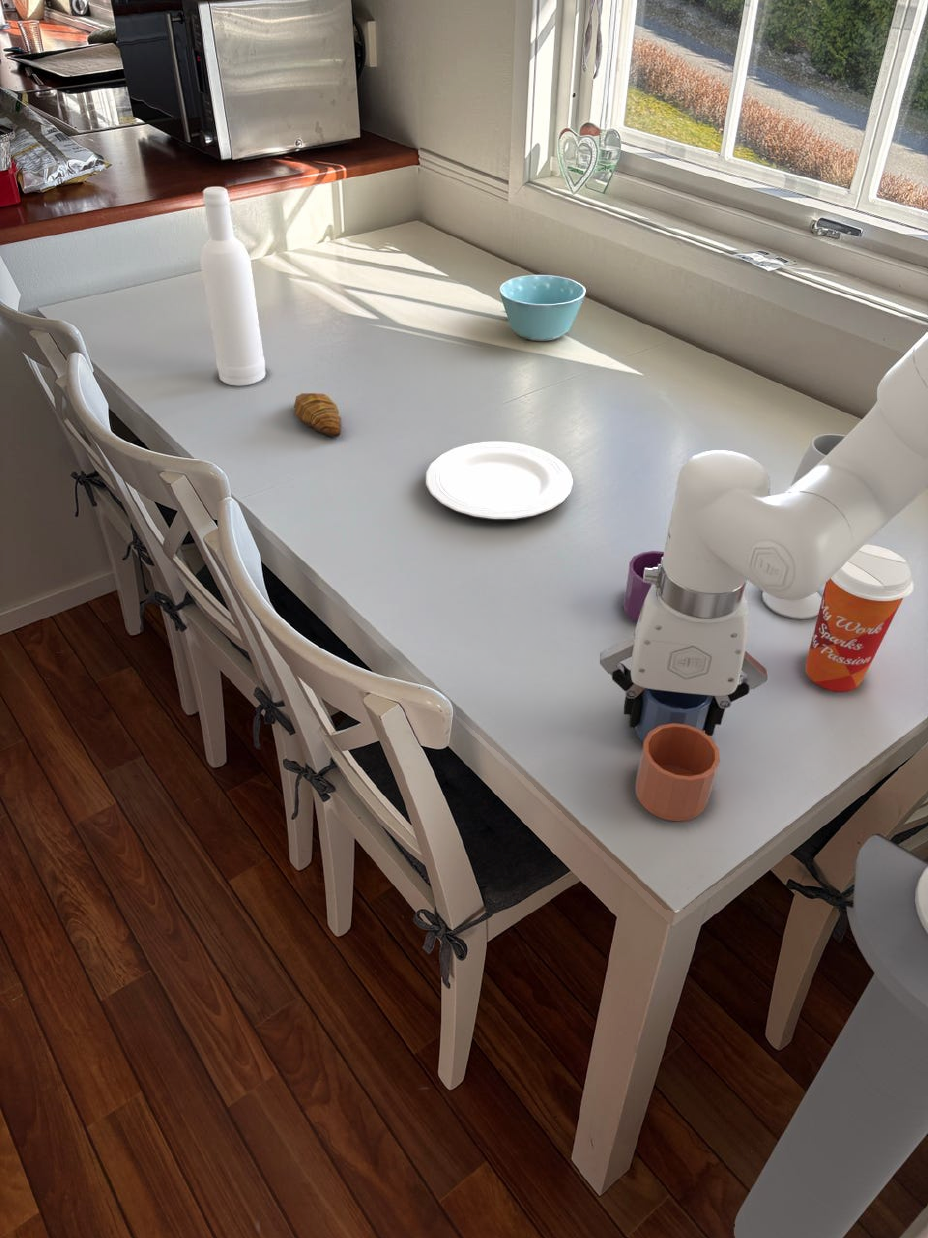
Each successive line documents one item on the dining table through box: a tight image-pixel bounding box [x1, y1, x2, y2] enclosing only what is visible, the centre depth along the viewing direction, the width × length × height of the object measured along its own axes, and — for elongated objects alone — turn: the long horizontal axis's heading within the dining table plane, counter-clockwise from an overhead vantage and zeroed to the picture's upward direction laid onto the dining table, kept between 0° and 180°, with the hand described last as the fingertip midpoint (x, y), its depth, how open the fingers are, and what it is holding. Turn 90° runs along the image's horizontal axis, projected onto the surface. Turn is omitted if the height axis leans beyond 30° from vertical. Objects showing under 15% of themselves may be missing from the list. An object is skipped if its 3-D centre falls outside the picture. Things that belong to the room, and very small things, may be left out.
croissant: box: [293, 392, 342, 438], centre depth 144 cm, size 14×7×5 cm, turn 32°
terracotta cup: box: [634, 723, 721, 822], centre depth 87 cm, size 7×7×6 cm
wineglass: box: [761, 433, 847, 620], centre depth 105 cm, size 8×8×21 cm
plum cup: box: [622, 550, 664, 623], centre depth 109 cm, size 7×7×6 cm
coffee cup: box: [805, 543, 915, 693], centre depth 97 cm, size 8×8×15 cm
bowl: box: [498, 274, 587, 342], centre depth 171 cm, size 16×16×8 cm
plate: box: [425, 441, 574, 521], centre depth 130 cm, size 21×21×2 cm
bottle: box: [199, 186, 266, 387], centre depth 148 cm, size 8×8×30 cm
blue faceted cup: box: [635, 688, 713, 743], centre depth 93 cm, size 7×7×6 cm
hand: (670, 721), depth 95 cm, fingers closed on blue faceted cup, 7 cm apart
